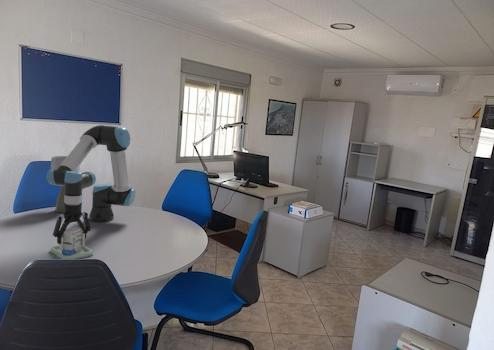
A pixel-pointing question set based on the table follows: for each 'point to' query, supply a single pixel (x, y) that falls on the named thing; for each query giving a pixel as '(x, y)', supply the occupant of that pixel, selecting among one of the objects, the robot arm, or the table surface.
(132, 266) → the table surface
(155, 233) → the table surface
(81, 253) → the tray
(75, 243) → the ink box
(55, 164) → the lamp
